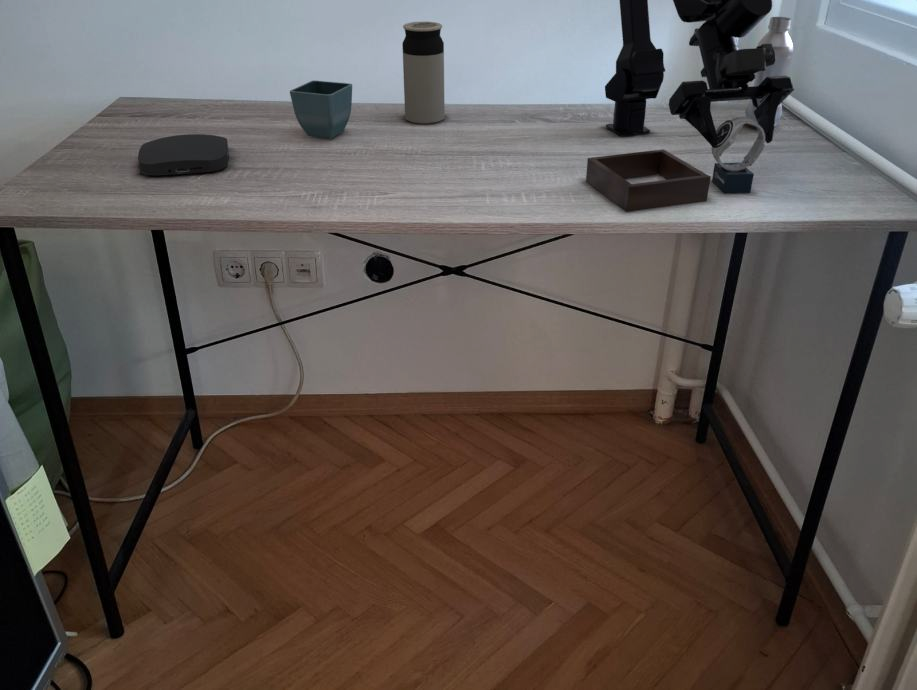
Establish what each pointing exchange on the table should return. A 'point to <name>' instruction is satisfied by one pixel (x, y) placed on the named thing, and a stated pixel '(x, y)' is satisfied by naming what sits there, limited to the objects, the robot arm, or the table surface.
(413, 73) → the travel mug
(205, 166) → the media streaming box
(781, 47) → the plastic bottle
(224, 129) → the table surface
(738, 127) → the watch
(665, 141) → the table surface
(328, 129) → the flower pot
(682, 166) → the tray
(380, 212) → the table surface
